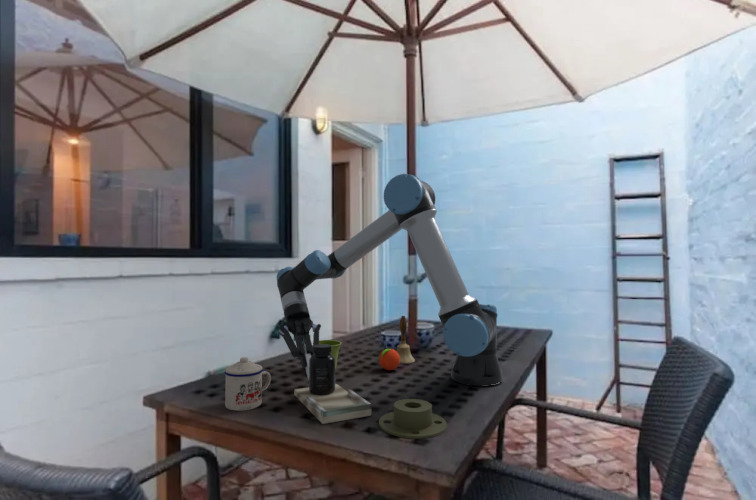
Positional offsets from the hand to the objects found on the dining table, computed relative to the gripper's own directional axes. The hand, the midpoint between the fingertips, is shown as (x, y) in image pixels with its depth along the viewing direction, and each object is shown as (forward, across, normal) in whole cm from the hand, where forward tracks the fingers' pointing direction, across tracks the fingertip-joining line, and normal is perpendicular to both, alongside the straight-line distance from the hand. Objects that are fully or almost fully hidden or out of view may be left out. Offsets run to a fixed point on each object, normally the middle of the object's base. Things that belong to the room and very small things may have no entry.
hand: (311, 376), depth 120 cm
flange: (+27, -12, +21) cm, 36 cm away
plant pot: (-10, -11, -15) cm, 22 cm away
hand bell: (-10, -40, -15) cm, 44 cm away
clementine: (-3, -29, -9) cm, 30 cm away
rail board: (+12, 0, +8) cm, 14 cm away
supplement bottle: (+7, 0, +4) cm, 8 cm away
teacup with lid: (+6, +18, +1) cm, 19 cm away
